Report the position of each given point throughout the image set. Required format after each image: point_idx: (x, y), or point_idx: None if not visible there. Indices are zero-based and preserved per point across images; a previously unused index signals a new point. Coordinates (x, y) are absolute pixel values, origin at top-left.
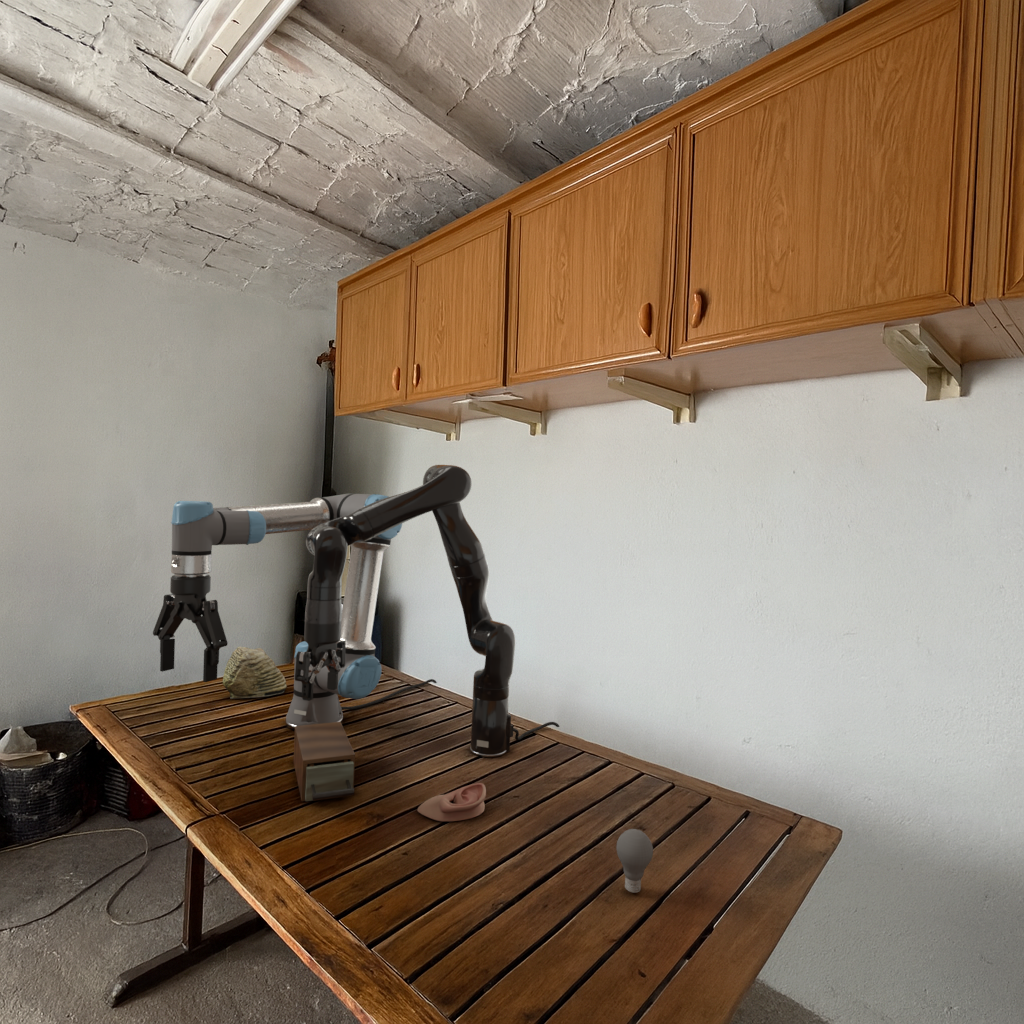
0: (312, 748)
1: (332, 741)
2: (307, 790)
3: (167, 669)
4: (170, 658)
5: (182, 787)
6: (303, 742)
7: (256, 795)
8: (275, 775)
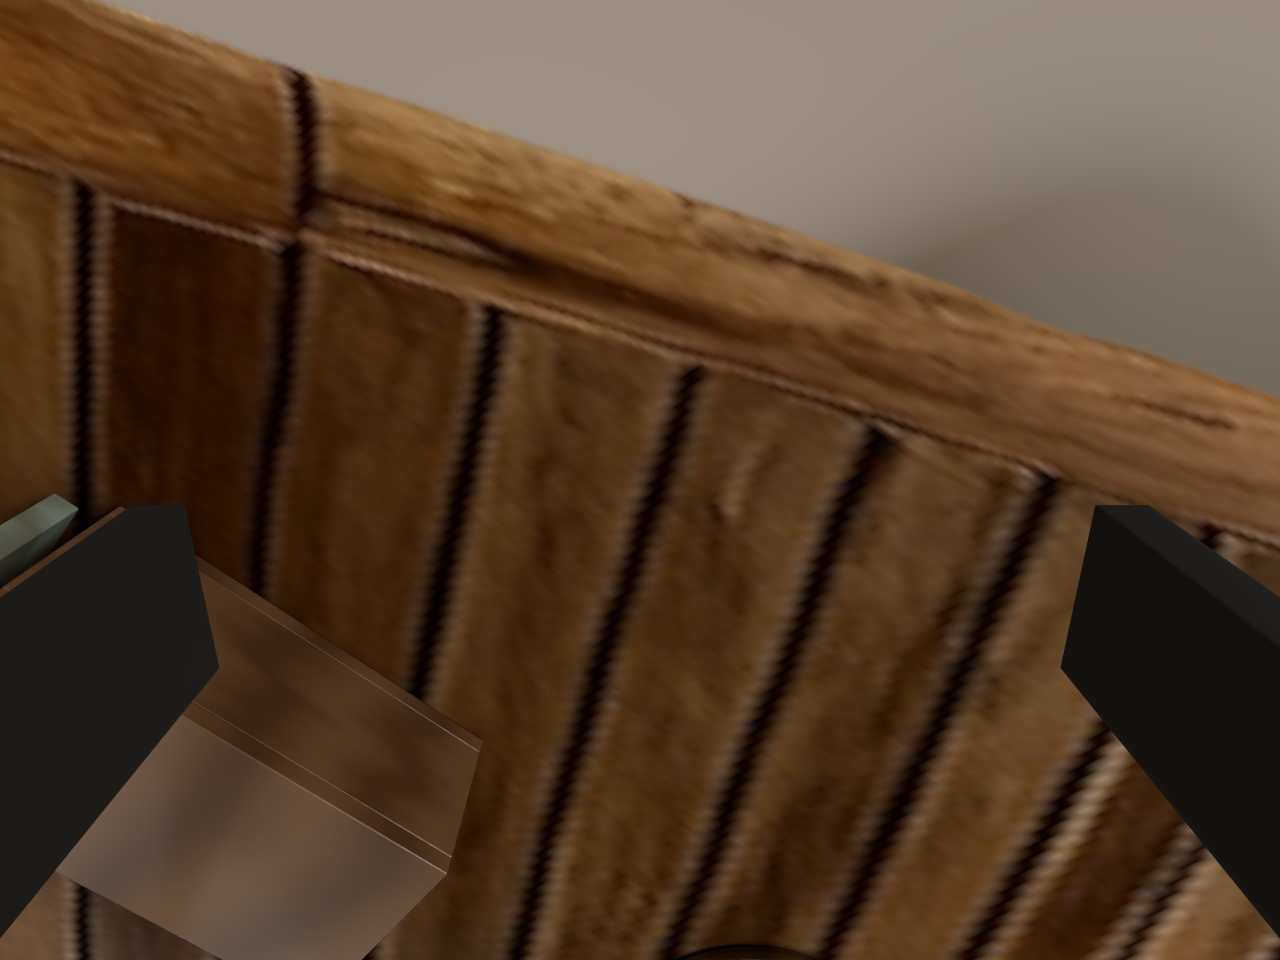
0: None
1: (107, 830)
2: (16, 517)
3: (1085, 584)
4: (1165, 717)
5: (683, 322)
6: (207, 754)
7: (326, 446)
8: (434, 618)
